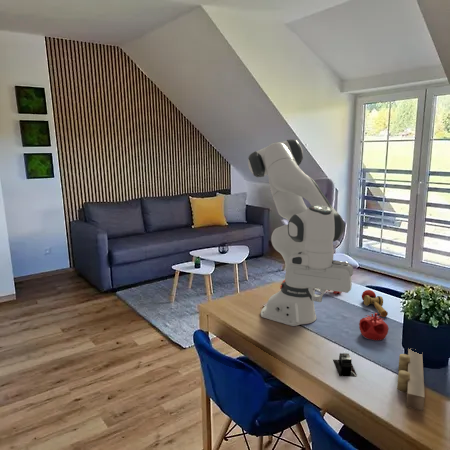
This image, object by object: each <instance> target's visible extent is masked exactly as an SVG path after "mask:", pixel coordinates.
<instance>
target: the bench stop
mask: <svg viewBox="0 0 450 450" xmlns="http://www.w3.org/2000/svg"><path fill="white" fill-rule="evenodd" d="M411 349H412V348H410V349H409V347H408V349H407V354H406V353H400V354H399V360H398V366H397V367H398V368H397V370H398V376H397V385H396V389H397V391H398V392H401V393H406V405H405V406H406V408H409V409H414V410H417V411H422V412H424V407H425V398H426V397H425V383H424V382H425V379H424V363H423V362H424V361H423V353H422V354H419V353H417V352H414V351H412V350H411Z"/></svg>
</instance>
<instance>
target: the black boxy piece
mask: <svg viewBox="0 0 450 450" xmlns="http://www.w3.org/2000/svg"><path fill="white" fill-rule="evenodd" d="M332 360H333V361H332V362H333V363H334V367H335V370H336V371H337V374H338V376H339V377H346V378H348V377H351V378H358V374H357V371H356V370H355V368H354V366H353V363H352V361H353V360H352V357H351V356H350V353H344V352H343V353H341V352H340V353H339V355H338V359H332Z"/></svg>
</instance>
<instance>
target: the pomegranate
mask: <svg viewBox="0 0 450 450" xmlns="http://www.w3.org/2000/svg"><path fill="white" fill-rule="evenodd" d="M378 314H379V313H378V312H374V314H373V313H371V316H370V315H368V314H367V315H365V316H364V317H362V318H360V320H359V323H358V325H359V331H360V333H361V335H362V336H363V337H364V338H365V339H368V340H370V341H382V340H384V339H386V338H387V335H388V333H389V329H390V327H389V326H388V324H387V322H385V318H383V317H381V315H380V314H379V315H378Z"/></svg>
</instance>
